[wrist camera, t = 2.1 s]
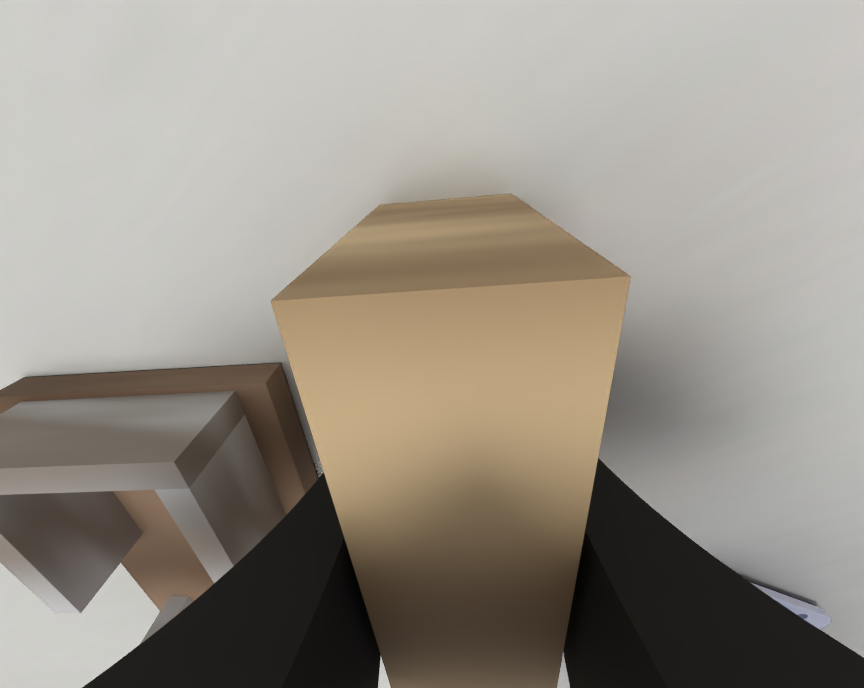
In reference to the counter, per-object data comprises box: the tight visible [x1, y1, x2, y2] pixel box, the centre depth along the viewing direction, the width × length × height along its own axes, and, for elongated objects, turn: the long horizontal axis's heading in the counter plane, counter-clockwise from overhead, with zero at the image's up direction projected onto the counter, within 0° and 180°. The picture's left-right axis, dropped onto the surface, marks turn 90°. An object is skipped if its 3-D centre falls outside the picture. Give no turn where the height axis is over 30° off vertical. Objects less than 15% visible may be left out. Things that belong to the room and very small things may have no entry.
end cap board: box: [0, 363, 318, 643], centre depth 13 cm, size 18×8×4 cm, turn 5°
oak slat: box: [271, 194, 631, 688], centre depth 8 cm, size 11×3×6 cm, turn 5°
